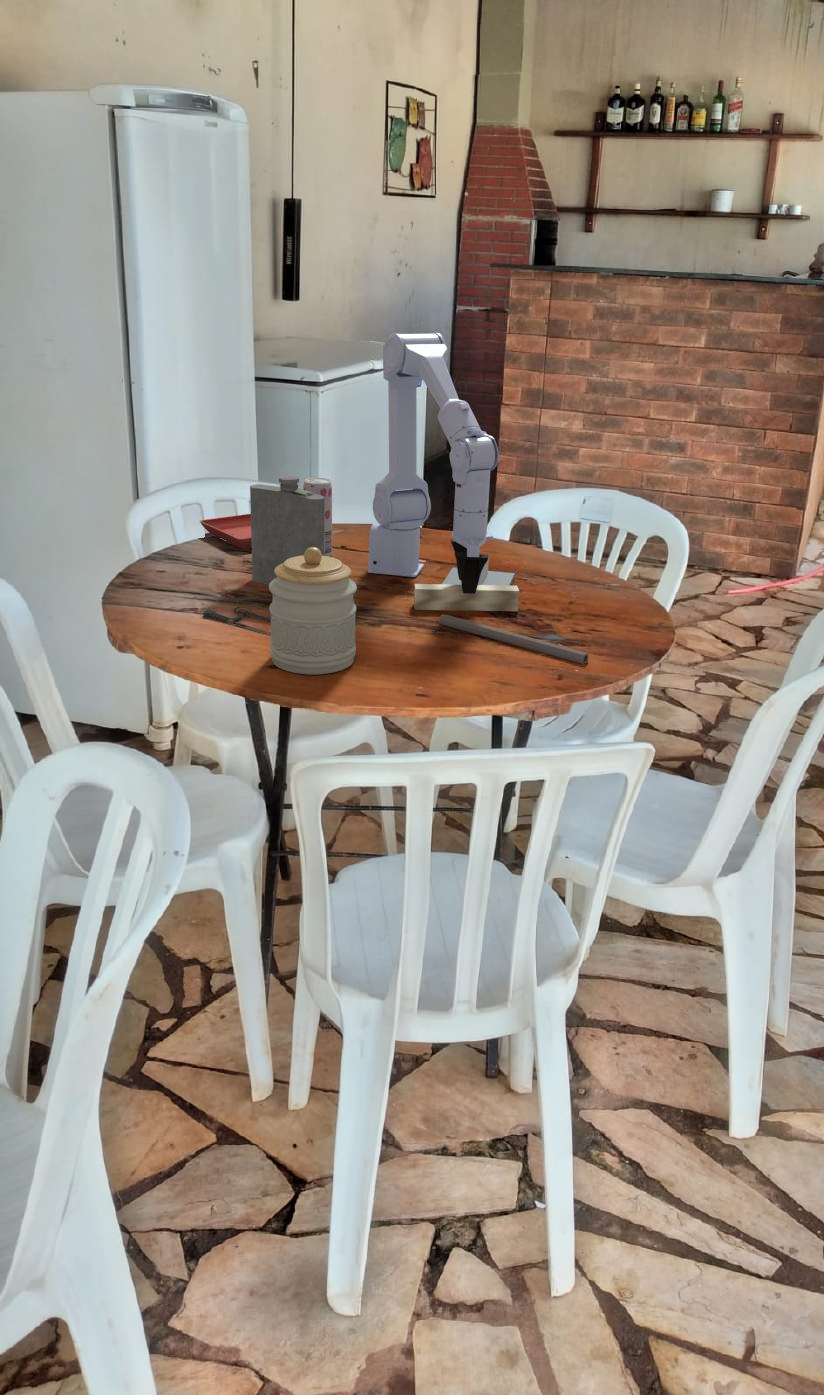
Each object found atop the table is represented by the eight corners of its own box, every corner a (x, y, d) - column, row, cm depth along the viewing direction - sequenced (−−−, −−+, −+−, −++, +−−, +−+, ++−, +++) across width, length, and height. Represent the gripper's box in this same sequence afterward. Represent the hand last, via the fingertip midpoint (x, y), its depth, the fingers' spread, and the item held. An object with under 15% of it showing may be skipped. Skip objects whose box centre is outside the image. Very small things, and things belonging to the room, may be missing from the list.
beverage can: (303, 551, 221) (302, 477, 215) (331, 551, 221) (331, 477, 215) (303, 559, 215) (303, 483, 209) (332, 559, 216) (333, 483, 210)
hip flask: (248, 580, 202) (245, 472, 194) (263, 575, 205) (260, 468, 197) (317, 597, 194) (316, 485, 186) (330, 592, 197) (331, 481, 189)
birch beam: (414, 611, 190) (415, 589, 188) (413, 605, 192) (414, 583, 191) (517, 612, 191) (519, 590, 189) (515, 607, 193) (516, 585, 192)
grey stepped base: (438, 594, 198) (439, 572, 196) (452, 572, 210) (453, 552, 209) (504, 600, 196) (505, 579, 194) (514, 578, 208) (515, 558, 207)
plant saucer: (198, 534, 231) (197, 519, 230) (272, 524, 241) (272, 509, 240) (239, 555, 218) (239, 539, 217) (316, 543, 228) (316, 527, 227)
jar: (280, 642, 172) (278, 533, 165) (361, 648, 171) (363, 538, 164) (261, 673, 161) (258, 557, 154) (348, 679, 159) (350, 562, 152)
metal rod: (445, 623, 184) (446, 612, 183) (587, 663, 170) (589, 651, 169) (439, 626, 183) (439, 615, 182) (581, 667, 168) (583, 654, 167)
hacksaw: (198, 619, 183) (197, 611, 182) (239, 598, 190) (238, 591, 190) (312, 656, 171) (312, 647, 170) (351, 632, 179) (351, 624, 178)
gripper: (499, 520, 178) (494, 599, 183) (489, 499, 191) (485, 574, 197) (456, 519, 178) (452, 598, 183) (449, 499, 191) (446, 573, 196)
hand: (467, 586), depth 190 cm, fingers open, 7 cm apart
